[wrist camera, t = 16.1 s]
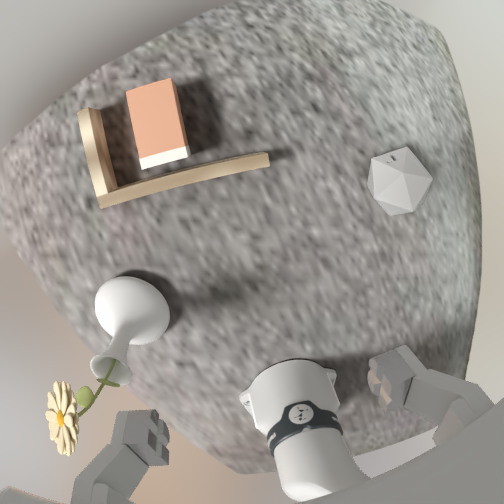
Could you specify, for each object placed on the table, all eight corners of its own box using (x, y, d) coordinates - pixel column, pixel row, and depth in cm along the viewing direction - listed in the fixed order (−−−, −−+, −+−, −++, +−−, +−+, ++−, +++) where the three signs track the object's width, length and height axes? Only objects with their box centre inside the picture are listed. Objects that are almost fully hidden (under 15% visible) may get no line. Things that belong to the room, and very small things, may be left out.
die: (408, 153, 37) (417, 129, 28) (430, 209, 36) (447, 198, 27) (359, 170, 41) (356, 149, 31) (380, 226, 40) (383, 220, 30)
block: (176, 86, 30) (171, 77, 25) (190, 154, 33) (187, 157, 28) (136, 97, 29) (125, 91, 25) (151, 165, 33) (141, 169, 28)
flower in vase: (147, 258, 37) (90, 411, 14) (184, 323, 42) (177, 478, 19) (77, 290, 37) (1, 419, 14) (116, 346, 42) (79, 480, 19)
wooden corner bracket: (263, 163, 35) (270, 166, 31) (110, 201, 34) (100, 209, 30) (245, 71, 30) (249, 63, 26) (90, 114, 29) (77, 112, 25)
